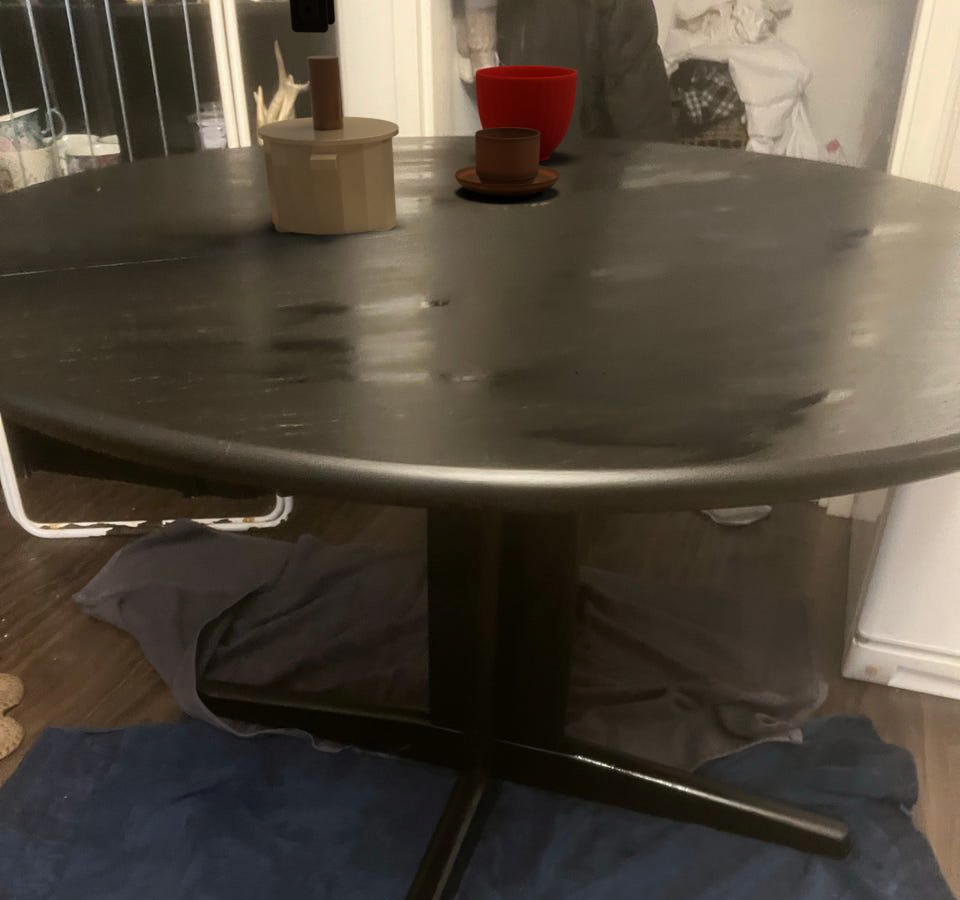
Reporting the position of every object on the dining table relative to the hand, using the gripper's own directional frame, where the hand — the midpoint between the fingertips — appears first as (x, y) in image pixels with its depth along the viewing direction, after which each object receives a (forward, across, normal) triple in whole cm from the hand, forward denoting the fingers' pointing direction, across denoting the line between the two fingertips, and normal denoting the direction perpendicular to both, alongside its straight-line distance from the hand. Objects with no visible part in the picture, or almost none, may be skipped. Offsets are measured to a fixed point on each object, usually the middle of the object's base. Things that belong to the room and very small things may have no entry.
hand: (314, 27), depth 91 cm
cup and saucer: (+17, -14, +20) cm, 30 cm away
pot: (+17, 0, +1) cm, 17 cm away
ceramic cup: (+17, -36, +24) cm, 46 cm away
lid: (+9, 0, +1) cm, 9 cm away
